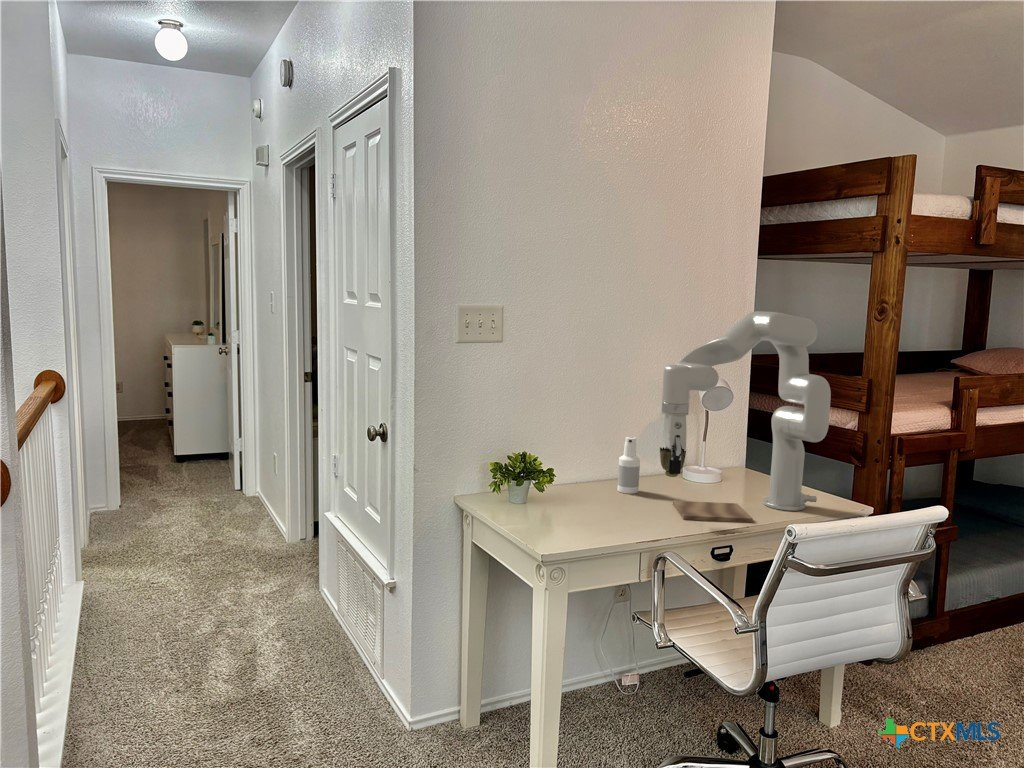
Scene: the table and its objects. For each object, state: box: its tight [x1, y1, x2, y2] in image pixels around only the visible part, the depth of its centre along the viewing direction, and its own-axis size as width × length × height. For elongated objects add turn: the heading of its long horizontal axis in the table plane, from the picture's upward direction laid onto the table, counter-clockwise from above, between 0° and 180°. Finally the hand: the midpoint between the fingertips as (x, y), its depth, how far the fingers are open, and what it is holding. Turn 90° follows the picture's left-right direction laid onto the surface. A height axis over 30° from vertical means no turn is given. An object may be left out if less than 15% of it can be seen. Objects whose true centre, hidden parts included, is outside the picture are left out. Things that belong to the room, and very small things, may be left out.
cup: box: [659, 446, 687, 478], centre depth 217 cm, size 8×7×8 cm
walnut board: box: [672, 500, 754, 523], centre depth 229 cm, size 20×16×1 cm
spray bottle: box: [616, 436, 641, 495], centre depth 250 cm, size 7×7×18 cm
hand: (671, 469), depth 217 cm, fingers closed on cup, 6 cm apart
